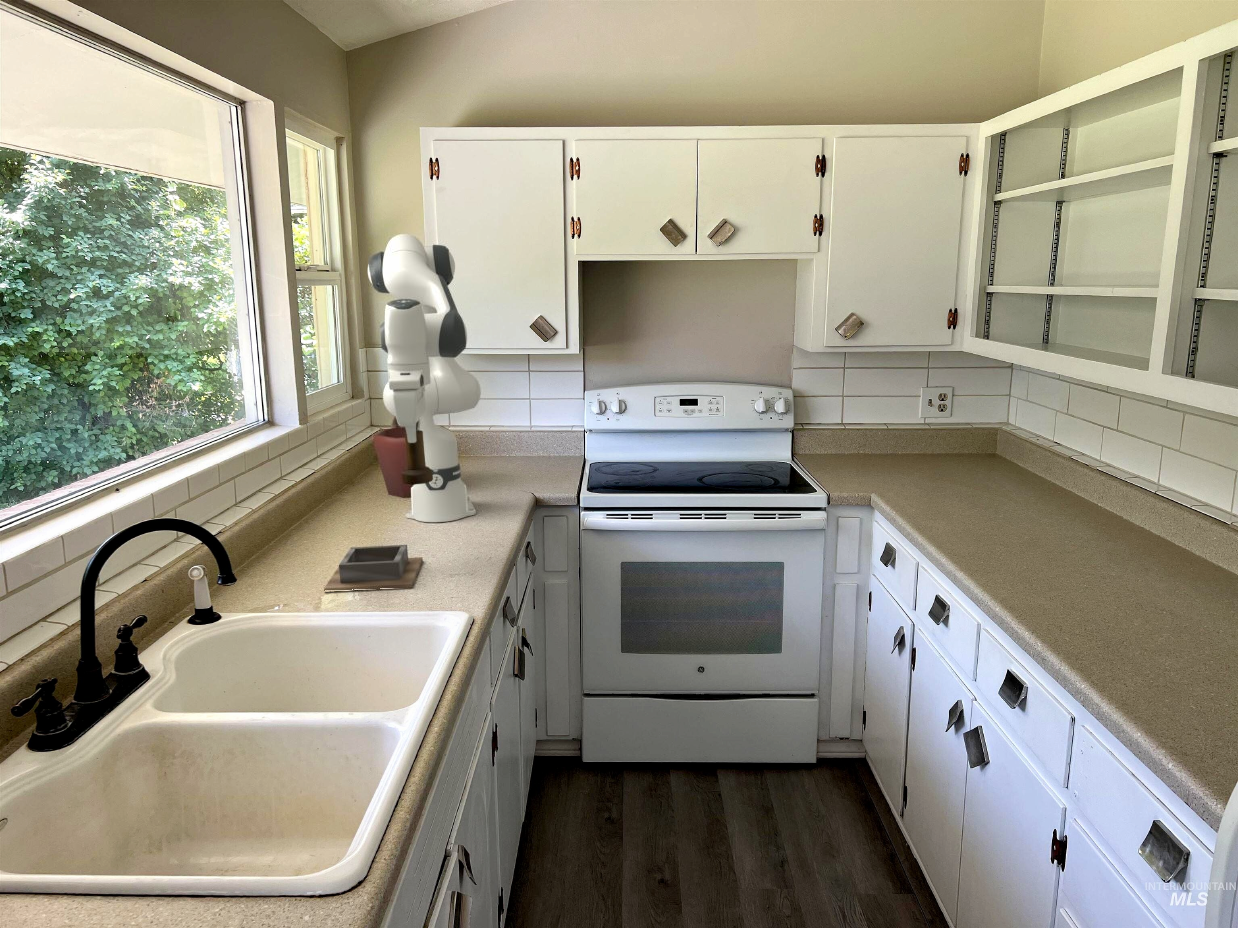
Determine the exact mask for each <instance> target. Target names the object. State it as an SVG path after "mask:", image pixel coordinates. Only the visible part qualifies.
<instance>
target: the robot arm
mask: <svg viewBox="0 0 1238 928" xmlns="http://www.w3.org/2000/svg"><path fill="white" fill-rule="evenodd" d="M455 271H456V263H455V258H454V256H453V254H452V253H451V252H450V249H449V248H448V247H447V246H446V245H441V244H433V245H423V243H422V241H420V239H419V238H417V237H416V236H414V235H412V234H409V233H401V234H397V235H395V236H393V237H392V238H391V239H390V240H389V241H388V243H387V245H386V247H385V251H380V252H377V253H375V254H373V255H372V256H371V257H370V258H369V260H368V265H367V276H368V279H369V282H370V283H371V285H372V287H373V289H374V290H375V291H376V292H378V293H381V294H390V295H391V296H393V297H394V300H391V301H388V302H387V303H386V305H385V310H384V321H383V322H382V323H381V324H380V325H379V332H380V342H381V344H380V345H381V349H382V350H383V351H384V352H385V353H386V354H387V359H386V360H387V361H386V366H387V367H386V368H387V377H388V378H387V379H388V381H387V382H386V384H385V386H384V388H383V392H382V400H383V404H384V406H385V408H386V410H387V411H388V412H389V413H390V414H391V415H392V416H393V417H394V416H396V419H397V422H398V425H399V426H401V427H405V429H406V432H407V438H408V442H409V443H415V442H416V441H417V433H416V423H417V421H418V428H417V430H420V431H423V441H424V452H425V463H426V466H427V467H429V468H430V469H432V473H433V480H432V481H431V482H428V483H424V484H415V485H413V487H412V488H411V498H410V500H411V501H410V502H411V509H410V510H408V512H406V514H405V518H407V519H413V520H416V521H418V522H425V523H443V522H451V521H452V522H453V521H457V520H461V519H463V518H465V517H470V516H475V515H476V514H477V511H476V509H475V507H474V505H473V503H472V501H471V499H470V497H469V496H468V491H467V490H468V489H467V485H466V484H465V482H463V480H462V478H461V476H462V473H461V472H462V468H461V464H460V463H459V456H458V453H459V452H458V442H457V437H456V435H455V434H454V432H453V431H452V430H450V429H449V430H448V428H447V429H445V428H446V427H445V428H443V427H444V426H443V427H441V426H442V425H438V424H436V423H435V422H434V416H436V415H445V414H455V413H458V414H459V413H461V412H465V411H469V410H472V409H474V408H476V407H477V405H478V403H479V402H480V399H481V394H482V391H481V386H480V383H479V380H478V379H477V378H476V376H474V374H473V373H471V372H469V371H467V370H465V368H463V367H462V366H461V365H460V364H459V363H458V362H457V361H456V359H455V358H457V357H458V356H460V354H462V352H464V351H465V349H466V347H467V344H468V332H467V326H466V324H465V322H464V319H463V317H462V316H461V314H460V312H459V311H458V309H457V306H456V303H455V301H454V298H453V296H452V293H451V291H450V288H449V286H450V285H451V283H452V281H453V280H454V275H455Z"/></svg>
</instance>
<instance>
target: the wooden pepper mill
mask: <svg viewBox="0 0 1238 928" xmlns="http://www.w3.org/2000/svg"><path fill="white" fill-rule="evenodd" d="M417 428H418V421H417V423H416V433H417V441H416V442H415V443H409V442H408V438H407V432H405V442H406V454H407V466H408V468H406V469H405V470H404V471H403V472H402V482H403V483H404V484H412V485H413V484H424V483H428V482H431V481H432V480H433V473H432V469H430V468H429V467H427V466H426V463H425V452H424V441H423V431H420V430H417Z"/></svg>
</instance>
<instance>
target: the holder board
mask: <svg viewBox="0 0 1238 928" xmlns="http://www.w3.org/2000/svg"><path fill="white" fill-rule="evenodd" d="M423 562H424V559H423V557H422V556H420V557H418V556H416V557H415V556H413V557H409V553H408V544H396V545H395V544H394V545H392V544H391V545H375V546H374V545H373V546H371V545H370V546H351V547H350V548H349V550H348V551H347V553H346V554H345V555H344V557H343V558H342V559H341V561H340V563H339V564H338V567H337V569H336V570H335V571H334V573H333V574H332V575H331V577H330V579H329V581H327V583H325V584H326V585H325V586H324V587H323V592H324V591H325V590H352V589H353V590H354V589H380V588H409V589H413V587H412V586H414V583H415V582H416V580H417V577H418V573H419V571H420V569H421V567H422V564H423Z"/></svg>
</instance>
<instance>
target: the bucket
mask: <svg viewBox="0 0 1238 928" xmlns="http://www.w3.org/2000/svg"><path fill="white" fill-rule="evenodd" d="M440 426H441V427H443V428H445V429H448V428H447V427H445V426H443V425H440ZM448 430H450V429H448ZM405 432H406V429H405V426H399V425H398V422H397V419H396V416H394V415H393V418H392V420H391V424H390V428H384V429H383V428H382V429H381V430H380V431H378V432H377V433H375V434H373V435H372V436H373V446H374V449H375V453H376V456H377V460H378V463H379V467H380V471H381V473H382V477H383V480H384V485H385V487H386V488H385V489H386V491H387V493H388V496H392V497H398V498H400V499H411V488H412V487H413V485H415V484H413V485H412V484H404V483H403V482H402V472H403V471H404V470H405V469H406V468H408V466H407V454H406V442H405Z"/></svg>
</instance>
